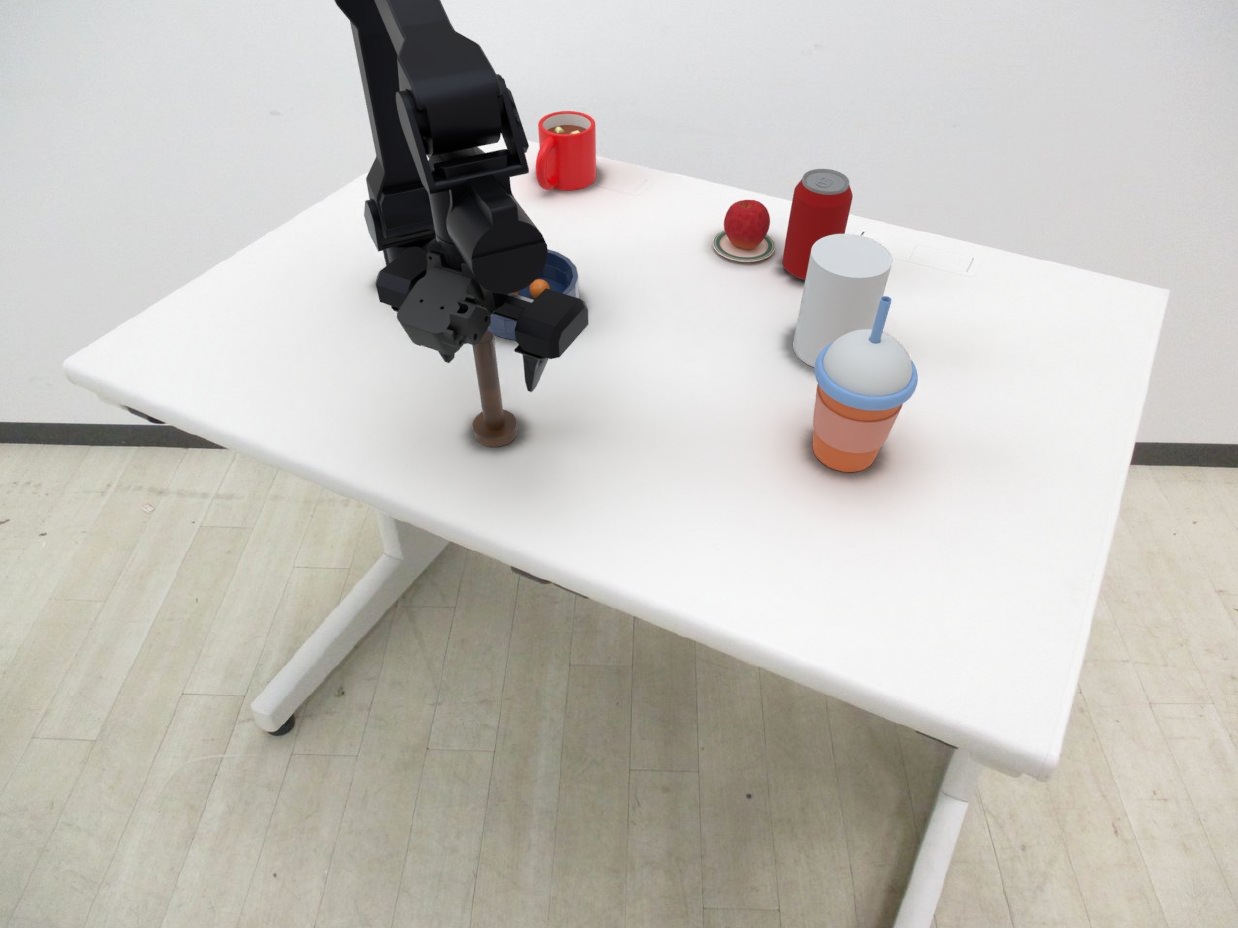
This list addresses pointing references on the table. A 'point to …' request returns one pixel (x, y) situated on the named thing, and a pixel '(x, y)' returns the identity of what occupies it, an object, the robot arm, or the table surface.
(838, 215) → the beverage can
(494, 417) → the muddler
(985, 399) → the table surface
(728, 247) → the apple
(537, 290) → the bead
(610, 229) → the table surface
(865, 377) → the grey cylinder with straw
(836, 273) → the grey cylinder
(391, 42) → the robot arm
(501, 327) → the bowl
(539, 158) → the mug
